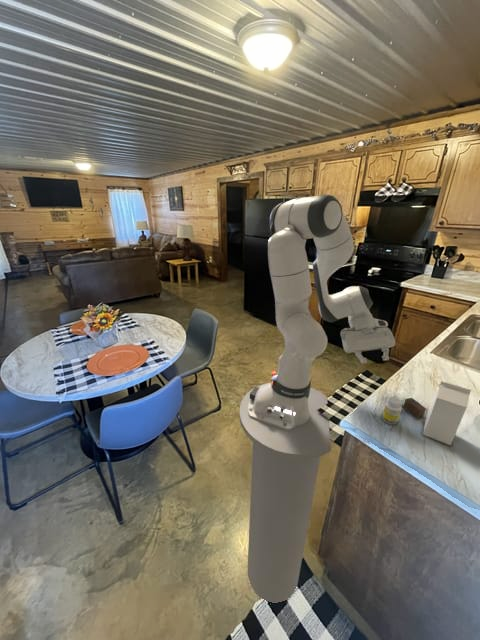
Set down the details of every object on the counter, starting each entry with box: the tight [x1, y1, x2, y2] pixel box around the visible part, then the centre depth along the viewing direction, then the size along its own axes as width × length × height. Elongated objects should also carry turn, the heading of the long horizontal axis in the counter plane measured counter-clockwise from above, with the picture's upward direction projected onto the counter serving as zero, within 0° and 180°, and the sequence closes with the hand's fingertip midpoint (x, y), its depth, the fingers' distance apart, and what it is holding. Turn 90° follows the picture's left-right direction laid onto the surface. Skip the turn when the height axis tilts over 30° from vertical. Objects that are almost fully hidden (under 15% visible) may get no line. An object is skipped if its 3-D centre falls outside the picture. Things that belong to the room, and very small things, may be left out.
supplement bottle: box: [381, 396, 403, 425], centre depth 90 cm, size 5×5×8 cm
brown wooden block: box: [402, 397, 427, 420], centre depth 94 cm, size 6×3×4 cm, turn 13°
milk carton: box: [423, 380, 472, 446], centre depth 82 cm, size 7×7×19 cm
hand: (375, 361), depth 96 cm, fingers open, 8 cm apart
